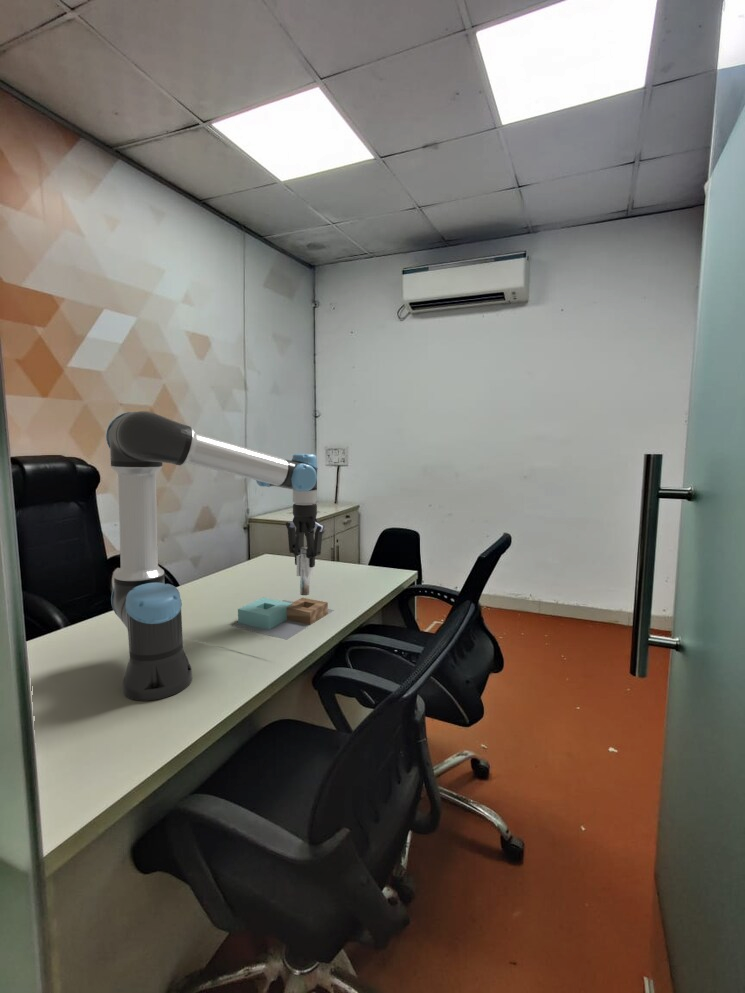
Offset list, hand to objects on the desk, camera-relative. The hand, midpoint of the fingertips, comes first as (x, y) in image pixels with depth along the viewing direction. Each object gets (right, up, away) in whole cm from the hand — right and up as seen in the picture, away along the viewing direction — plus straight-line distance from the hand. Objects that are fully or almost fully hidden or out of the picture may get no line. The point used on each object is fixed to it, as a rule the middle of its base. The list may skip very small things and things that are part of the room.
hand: (304, 575), depth 154 cm
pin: (0, -6, +1) cm, 6 cm away
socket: (-12, -14, 0) cm, 19 cm away
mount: (0, -14, +2) cm, 14 cm away
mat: (-7, -14, +1) cm, 16 cm away
